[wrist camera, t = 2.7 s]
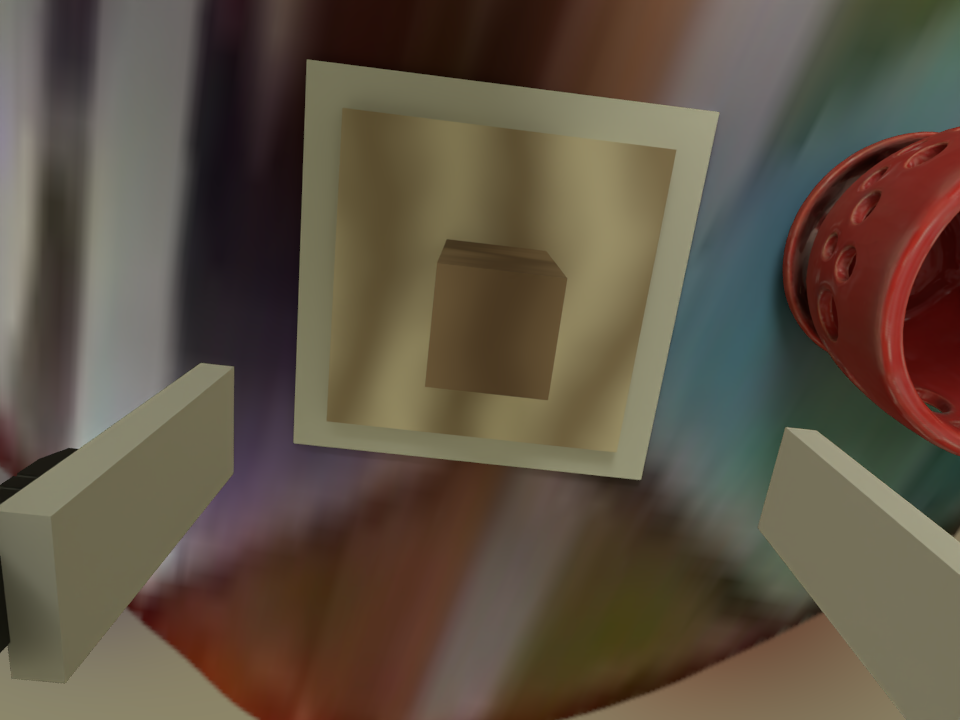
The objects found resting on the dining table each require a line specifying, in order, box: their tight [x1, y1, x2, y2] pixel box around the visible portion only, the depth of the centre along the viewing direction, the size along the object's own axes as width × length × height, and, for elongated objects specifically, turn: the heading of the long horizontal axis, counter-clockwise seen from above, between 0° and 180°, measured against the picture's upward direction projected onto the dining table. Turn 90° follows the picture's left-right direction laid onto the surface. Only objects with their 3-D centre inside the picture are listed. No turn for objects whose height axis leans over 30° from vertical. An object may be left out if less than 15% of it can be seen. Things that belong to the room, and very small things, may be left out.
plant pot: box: [783, 127, 960, 456], centre depth 28 cm, size 13×13×12 cm
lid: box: [327, 108, 676, 452], centre depth 29 cm, size 16×16×9 cm
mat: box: [293, 59, 719, 480], centre depth 34 cm, size 20×20×1 cm
